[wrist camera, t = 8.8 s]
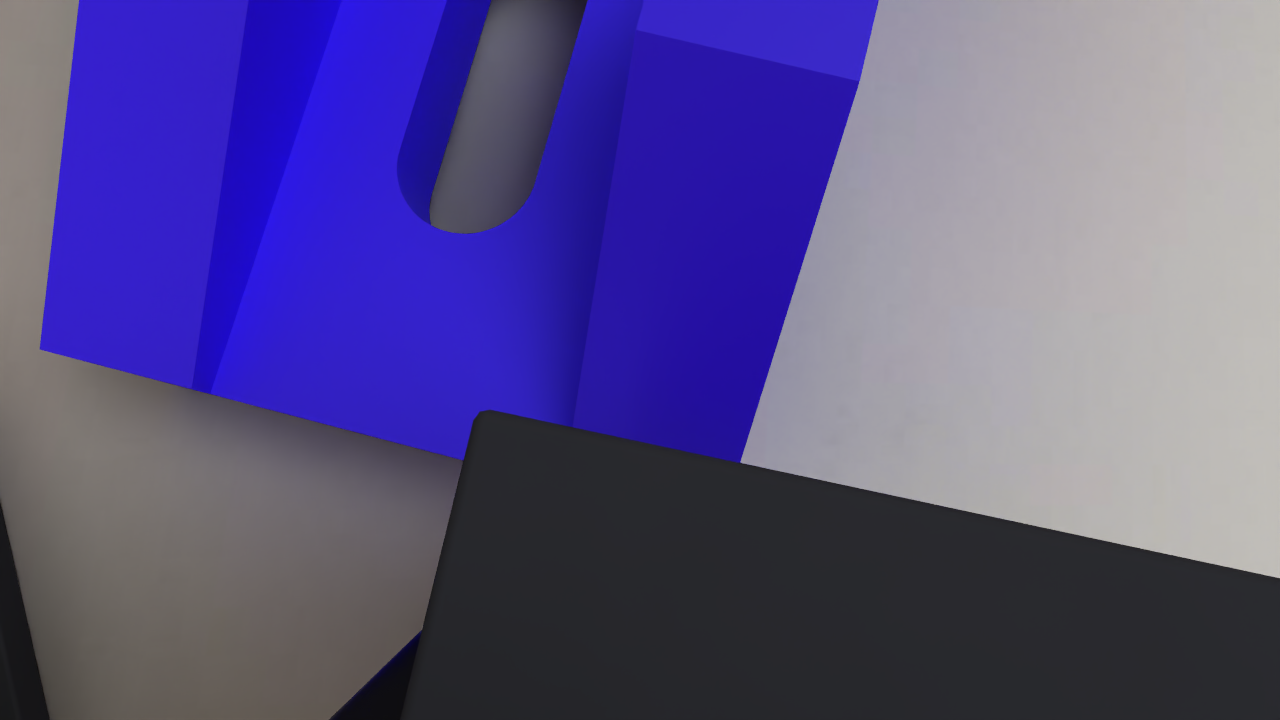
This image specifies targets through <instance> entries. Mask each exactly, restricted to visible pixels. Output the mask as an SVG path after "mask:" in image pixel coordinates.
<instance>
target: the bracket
mask: <svg viewBox="0 0 1280 720" xmlns="http://www.w3.org/2000/svg"><path fill="white" fill-rule="evenodd" d="M878 1H879V0H588V1H587V5H586V8H585V12H584V15H583V18H582V22H581V25H580V29H579V32H578V36H577V39H576V43H575V46H574V50H573V53H572V56H571V60H570V63H569V67H568V70H567V74H566V77H565V81H564V84H563V88H562V91H561V95H560V98H559V101H558V105H557V108H556V112H555V115H554V119H553V122H552V126H551V129H550V133H549V136H548V139H547V143H546V146H545V150H544V153H543V157H542V160H541V164H540V167H539V171H538V174H537V177H536V181H535V184H534V187H533V189H532V192H531V194H530V196H529V197H528V199H527V201H526V202H525V203H524V205H523V206H522V207H521V209H520V210H519V211H518V212H517V213H516V214H515V215H513V216H512V217H511V218H510V219H508V220H507V221H505V222H504V223H502V224H500V225H498V226H497V227H494V228H492V229H489V230H486V231H483V232H478V233H469V234H459V233H451V232H447V231H443V230H440V229H438V228H435V227H433V226H431V222H430V215H429V206H430V199H431V195H432V192H433V188H434V185H435V182H436V179H437V175H438V172H439V169H440V166H441V162H442V159H443V156H444V153H445V149H446V146H447V143H448V140H449V136H450V133H451V130H452V127H453V123H454V120H455V117H456V114H457V110H458V107H459V104H460V101H461V97H462V94H463V91H464V87H465V84H466V81H467V78H468V74H469V71H470V68H471V65H472V61H473V58H474V55H475V52H476V48H477V45H478V42H479V39H480V35H481V32H482V29H483V26H484V22H485V19H486V16H487V13H488V9H489V6H490V3H491V0H79V7H78V16H77V24H76V33H75V42H74V51H73V60H72V69H71V78H70V86H69V95H68V104H67V113H66V122H65V131H64V139H63V148H62V157H61V166H60V175H59V184H58V192H57V201H56V210H55V219H54V228H53V237H52V246H51V254H50V263H49V272H48V281H47V290H46V299H45V307H44V316H43V325H42V334H41V343H40V350H44V351H48V352H52V353H55V354H59V355H63V356H67V357H71V358H75V359H78V360H82V361H86V362H90V363H94V364H97V365H101V366H105V367H109V368H113V369H117V370H120V371H124V372H128V373H132V374H136V375H139V376H143V377H147V378H151V379H155V380H158V381H162V382H166V383H170V384H174V385H178V386H181V387H185V388H189V389H193V390H197V391H200V392H204V393H208V394H212V395H216V396H220V397H223V398H227V399H231V400H235V401H239V402H242V403H246V404H250V405H254V406H258V407H262V408H265V409H269V410H273V411H277V412H281V413H284V414H288V415H292V416H296V417H300V418H303V419H307V420H311V421H315V422H319V423H323V424H326V425H330V426H334V427H338V428H342V429H345V430H349V431H353V432H357V433H361V434H364V435H368V436H372V437H376V438H380V439H384V440H387V441H391V442H395V443H399V444H403V445H406V446H410V447H414V448H418V449H422V450H425V451H429V452H433V453H437V454H441V455H445V456H448V457H452V458H456V459H460V460H464V457H465V452H466V448H467V444H468V440H469V436H470V432H471V428H472V424H473V420H474V419H475V417H476V416H477V415H478V413H479V412H480V411H485V410H495V411H499V412H504V413H509V414H513V415H518V416H523V417H527V418H532V419H537V420H541V421H546V422H551V423H555V424H560V425H565V426H569V427H574V428H579V429H583V430H588V431H593V432H597V433H602V434H607V435H611V436H616V437H621V438H625V439H630V440H635V441H639V442H644V443H649V444H654V445H658V446H663V447H668V448H672V449H677V450H682V451H686V452H691V453H696V454H700V455H705V456H710V457H714V458H719V459H724V460H728V461H733V462H738V463H740V461H741V458H742V454H743V451H744V448H745V445H746V442H747V438H748V435H749V432H750V429H751V426H752V422H753V419H754V416H755V413H756V410H757V407H758V403H759V400H760V397H761V394H762V391H763V387H764V384H765V381H766V378H767V375H768V371H769V368H770V365H771V362H772V359H773V356H774V352H775V349H776V346H777V343H778V340H779V336H780V333H781V330H782V327H783V324H784V320H785V317H786V314H787V311H788V308H789V304H790V301H791V298H792V295H793V292H794V289H795V285H796V282H797V279H798V276H799V273H800V269H801V266H802V263H803V260H804V257H805V253H806V250H807V247H808V244H809V241H810V238H811V234H812V231H813V228H814V225H815V222H816V218H817V215H818V212H819V209H820V206H821V202H822V199H823V196H824V193H825V190H826V186H827V183H828V180H829V177H830V174H831V171H832V167H833V164H834V161H835V158H836V155H837V151H838V148H839V145H840V142H841V139H842V135H843V132H844V129H845V126H846V123H847V120H848V116H849V113H850V110H851V107H852V104H853V100H854V97H855V94H856V91H857V88H858V84H859V81H860V77H861V73H862V69H863V64H864V60H865V56H866V52H867V47H868V43H869V39H870V35H871V30H872V26H873V22H874V18H875V13H876V9H877V5H878Z"/></svg>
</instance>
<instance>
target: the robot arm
mask: <svg viewBox="0 0 1280 720" xmlns="http://www.w3.org/2000/svg"><path fill="white" fill-rule="evenodd" d="M421 632H422V630H421V631H420V632H419V633H418V634H417V635H416V636H415V637H414V638H413V639H412V640H411V641H410V642H409V643H408V644H407V645H406V646H404V647H403V648H402V649H401V650H400V651H399V652H398V653H397V654H396V655H395V656H394V657H393V658H392V659H391V660H390V661H389V662H388V663H387V664H386V665H385V666H384V667H383V668H382V669H381V670H380V671H379V672H378V673H377V674H376V675H375V676H373V677H372V678H371V679H370V680H369V681H368V682H367V683H366V684H365V685H364V686H363V687H362V688H361V689H360V690H359V691H358V692H357V693H356V694H355V695H354V696H353V697H352V698H351V699H350V700H349V701H348V702H347V703H346V704H345V705H344V706H342V707H341V708H340V709H339V710H338V711H337V712H336V713H335V714H334V715H333V716H332V717H331V718H330V719H329V720H400V718H401V714H402V710H403V705H404V701H405V697H406V693H407V689H408V685H409V681H410V677H411V673H412V669H413V665H414V661H415V656H416V652H417V648H418V644H419V640H420V636H421Z"/></svg>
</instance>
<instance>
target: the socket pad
mask: <svg viewBox="0 0 1280 720" xmlns="http://www.w3.org/2000/svg"><path fill="white" fill-rule="evenodd" d="M0 720H49V717H48V713H47V708H46V704H45V699H44V695H43V690H42V686H41V682H40V677H39V673H38V668H37V664H36V659H35V655H34V651H33V646H32V642H31V637H30V633H29V628H28V624H27V620H26V615H25V611H24V606H23V602H22V598H21V593H20V589H19V584H18V580H17V575H16V571H15V567H14V562H13V558H12V553H11V549H10V544H9V540H8V536H7V531H6V527H5V522H4V518H3V514H2V509H1V505H0Z"/></svg>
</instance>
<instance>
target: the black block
mask: <svg viewBox="0 0 1280 720" xmlns="http://www.w3.org/2000/svg"><path fill="white" fill-rule="evenodd" d="M400 720H1280V578H1275V577H1271V576H1266V575H1261V574H1257V573H1252V572H1247V571H1243V570H1238V569H1233V568H1229V567H1224V566H1219V565H1215V564H1210V563H1205V562H1201V561H1196V560H1191V559H1187V558H1182V557H1177V556H1173V555H1168V554H1163V553H1159V552H1154V551H1149V550H1144V549H1140V548H1135V547H1130V546H1126V545H1121V544H1116V543H1112V542H1107V541H1102V540H1098V539H1093V538H1088V537H1084V536H1079V535H1074V534H1070V533H1065V532H1060V531H1056V530H1051V529H1046V528H1042V527H1037V526H1032V525H1028V524H1023V523H1018V522H1014V521H1009V520H1004V519H1000V518H995V517H990V516H985V515H981V514H976V513H971V512H967V511H962V510H957V509H953V508H948V507H943V506H939V505H934V504H929V503H925V502H920V501H915V500H911V499H906V498H901V497H897V496H892V495H887V494H883V493H878V492H873V491H869V490H864V489H859V488H855V487H850V486H845V485H841V484H836V483H831V482H827V481H822V480H817V479H812V478H808V477H803V476H798V475H794V474H789V473H784V472H780V471H775V470H770V469H766V468H761V467H756V466H752V465H747V464H742V463H738V462H733V461H728V460H724V459H719V458H714V457H710V456H705V455H700V454H696V453H691V452H686V451H682V450H677V449H672V448H668V447H663V446H658V445H654V444H649V443H644V442H639V441H635V440H630V439H625V438H621V437H616V436H611V435H607V434H602V433H597V432H593V431H588V430H583V429H579V428H574V427H569V426H565V425H560V424H555V423H551V422H546V421H541V420H537V419H532V418H527V417H523V416H518V415H513V414H509V413H504V412H499V411H495V410H485V411H480V412H479V413H478V415H477V416H476V417H475V419H474V420H473V424H472V428H471V432H470V436H469V440H468V444H467V448H466V452H465V457H464V461H463V465H462V469H461V473H460V477H459V481H458V485H457V489H456V493H455V497H454V501H453V505H452V510H451V514H450V518H449V522H448V526H447V530H446V534H445V538H444V542H443V546H442V550H441V554H440V559H439V563H438V567H437V571H436V575H435V579H434V583H433V587H432V591H431V595H430V599H429V603H428V608H427V612H426V616H425V620H424V624H423V628H422V632H421V636H420V640H419V644H418V648H417V652H416V656H415V661H414V665H413V669H412V673H411V677H410V681H409V685H408V689H407V693H406V697H405V701H404V705H403V710H402V714H401V718H400Z"/></svg>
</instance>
